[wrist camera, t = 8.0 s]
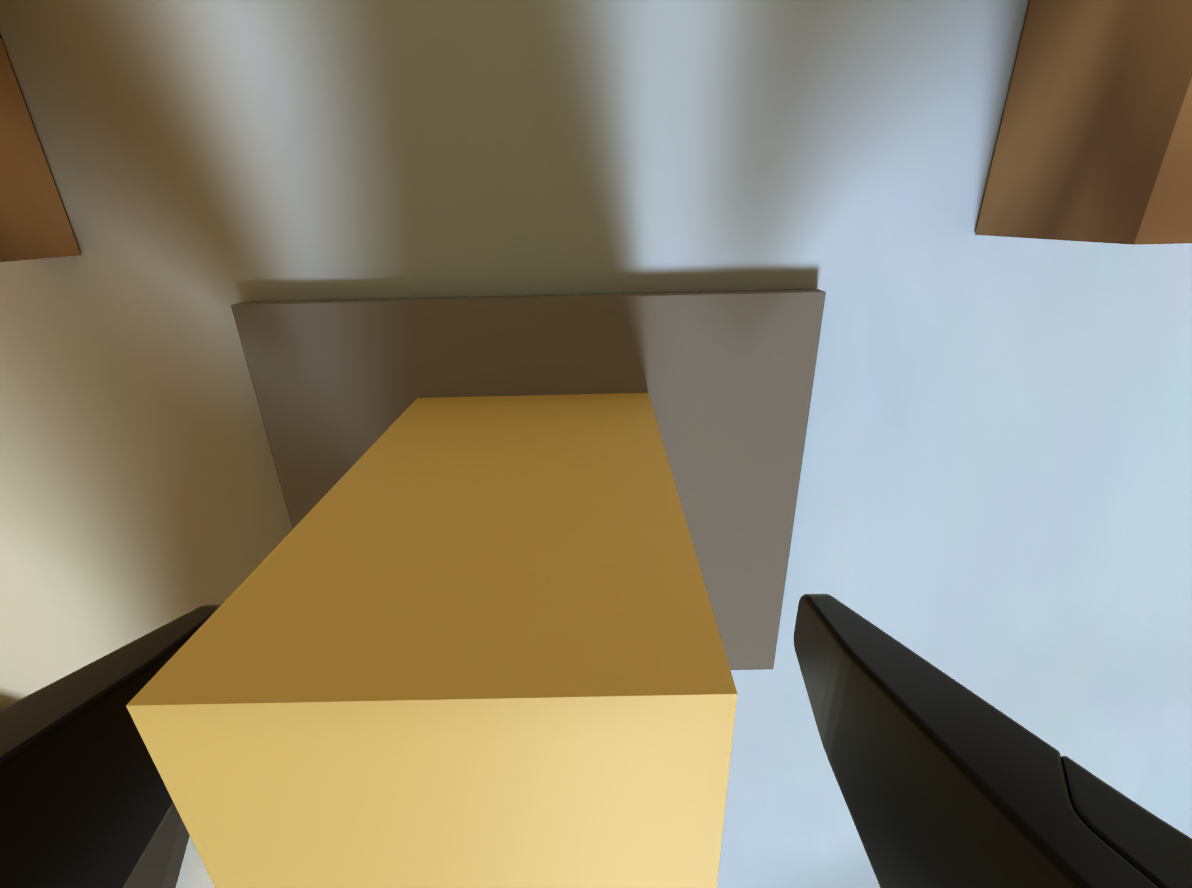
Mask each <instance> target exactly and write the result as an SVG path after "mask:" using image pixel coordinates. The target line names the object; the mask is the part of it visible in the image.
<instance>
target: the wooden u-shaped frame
mask: <svg viewBox="0 0 1192 888" xmlns="http://www.w3.org/2000/svg"><path fill="white" fill-rule="evenodd" d="M975 235H991V236H1007V237H1023V238H1039V239H1055V240H1071V241H1088V242H1104V243H1120V244H1173V243H1192V0H1030V3H1029V7H1028V12H1027V16H1026V20H1025V24H1024V29H1023V33H1022V37H1021V41H1020V46H1019V50H1018V54H1017V58H1016V63H1015V67H1014V71H1013V75H1012V80H1011V84H1010V88H1009V93H1008V97H1007V101H1006V105H1005V110H1004V114H1003V118H1002V122H1001V127H1000V131H999V135H998V139H997V144H996V148H995V152H994V157H993V161H992V165H991V169H990V174H989V178H988V182H987V186H986V191H985V195H984V199H983V203H982V208H981V212H980V216H979V220H978V225H977V229H976V233H975ZM75 255H81V253H80V251H79V248H78V245H77V242H76V240H75V237H74V234H73V232H72V229H71V226H70V224H69V221H68V218H67V215H66V213H65V210H64V207H63V205H62V202H61V199H60V197H59V194H58V191H57V188H56V186H55V183H54V180H53V178H52V175H51V172H50V170H49V167H48V164H47V161H46V159H45V156H44V153H43V151H42V148H41V145H40V143H39V140H38V137H37V134H36V132H35V129H34V126H33V124H32V121H31V118H30V116H29V113H28V110H27V107H26V105H25V102H24V99H23V97H22V94H21V91H20V89H19V86H18V83H17V80H16V78H15V75H14V72H13V70H12V67H11V64H10V62H9V59H8V56H7V53H6V51H5V48H4V45H3V43H2V40H1V37H0V262H5V261H17V260H28V259H40V258H52V257H63V256H75Z"/></svg>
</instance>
